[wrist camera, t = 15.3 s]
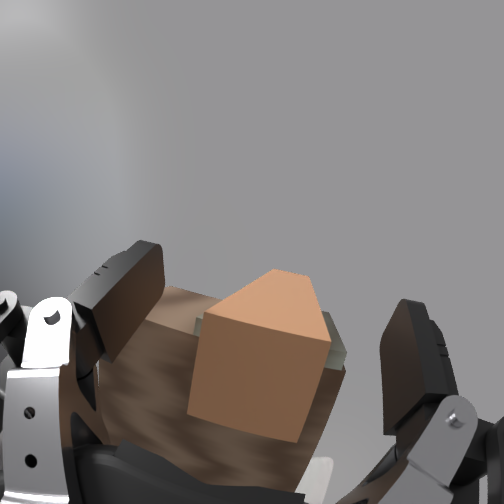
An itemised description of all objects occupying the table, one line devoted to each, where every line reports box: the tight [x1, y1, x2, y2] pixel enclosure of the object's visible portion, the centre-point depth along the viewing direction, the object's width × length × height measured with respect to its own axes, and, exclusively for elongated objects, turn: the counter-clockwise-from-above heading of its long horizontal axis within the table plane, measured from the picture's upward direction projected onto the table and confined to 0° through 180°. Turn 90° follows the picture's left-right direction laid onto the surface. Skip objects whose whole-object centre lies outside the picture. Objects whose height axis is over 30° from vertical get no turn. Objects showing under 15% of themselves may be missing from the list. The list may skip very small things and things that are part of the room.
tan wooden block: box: [187, 269, 331, 443], centre depth 20 cm, size 4×24×4 cm, turn 170°
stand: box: [99, 286, 347, 492], centre depth 24 cm, size 17×12×33 cm
